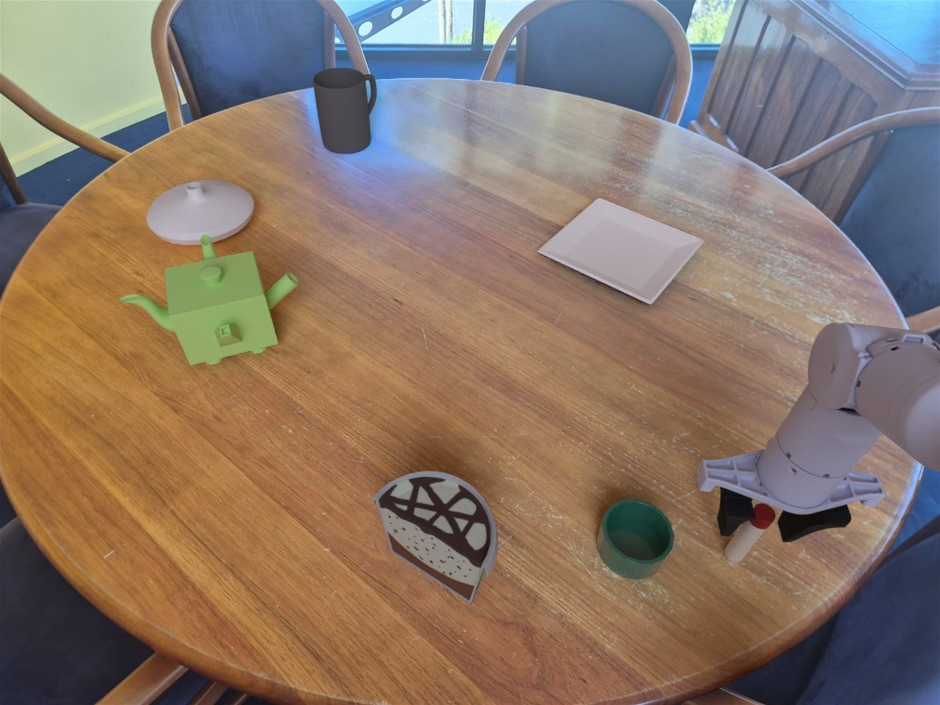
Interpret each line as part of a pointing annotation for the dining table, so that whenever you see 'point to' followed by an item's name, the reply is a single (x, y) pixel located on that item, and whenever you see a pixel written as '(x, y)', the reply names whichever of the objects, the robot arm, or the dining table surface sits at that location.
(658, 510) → the thermos cup
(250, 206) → the grey lid
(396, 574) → the dining table surface
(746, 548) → the marker
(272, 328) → the kettle
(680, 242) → the plate
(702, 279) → the dining table surface
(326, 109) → the mug
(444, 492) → the cake slice
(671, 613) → the dining table surface
